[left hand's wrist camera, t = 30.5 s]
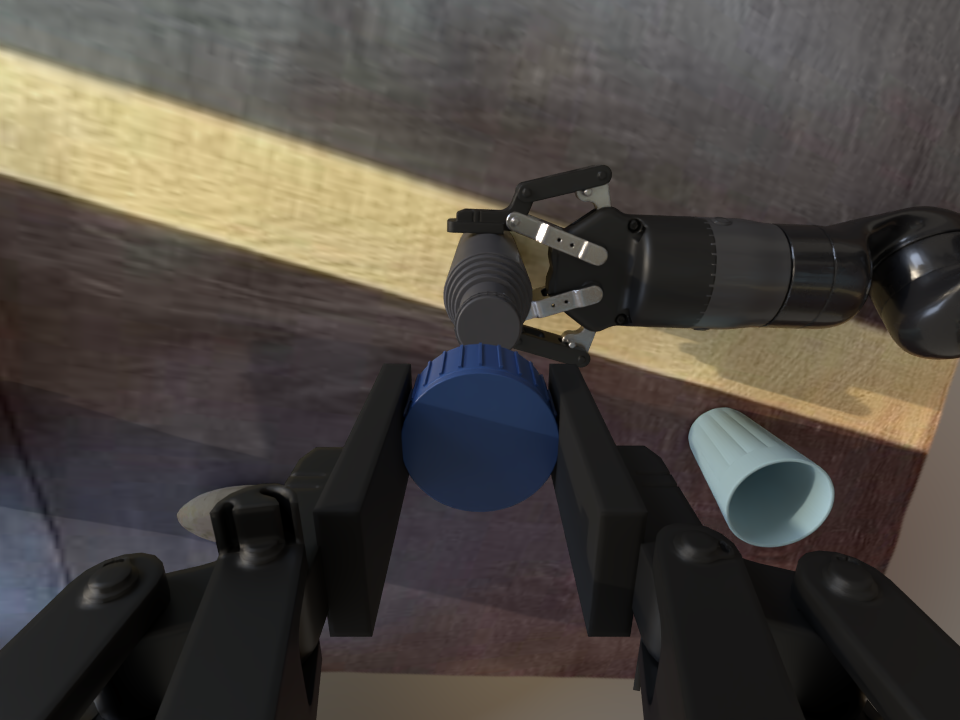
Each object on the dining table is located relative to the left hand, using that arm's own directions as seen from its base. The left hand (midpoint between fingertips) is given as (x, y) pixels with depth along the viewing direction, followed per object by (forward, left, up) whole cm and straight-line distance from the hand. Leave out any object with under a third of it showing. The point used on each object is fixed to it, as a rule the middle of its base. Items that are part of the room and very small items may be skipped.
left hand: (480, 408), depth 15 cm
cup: (+13, -24, -28) cm, 39 cm away
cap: (0, 0, +2) cm, 2 cm away
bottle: (0, 0, -28) cm, 28 cm away
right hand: (-2, +1, -22) cm, 22 cm away
